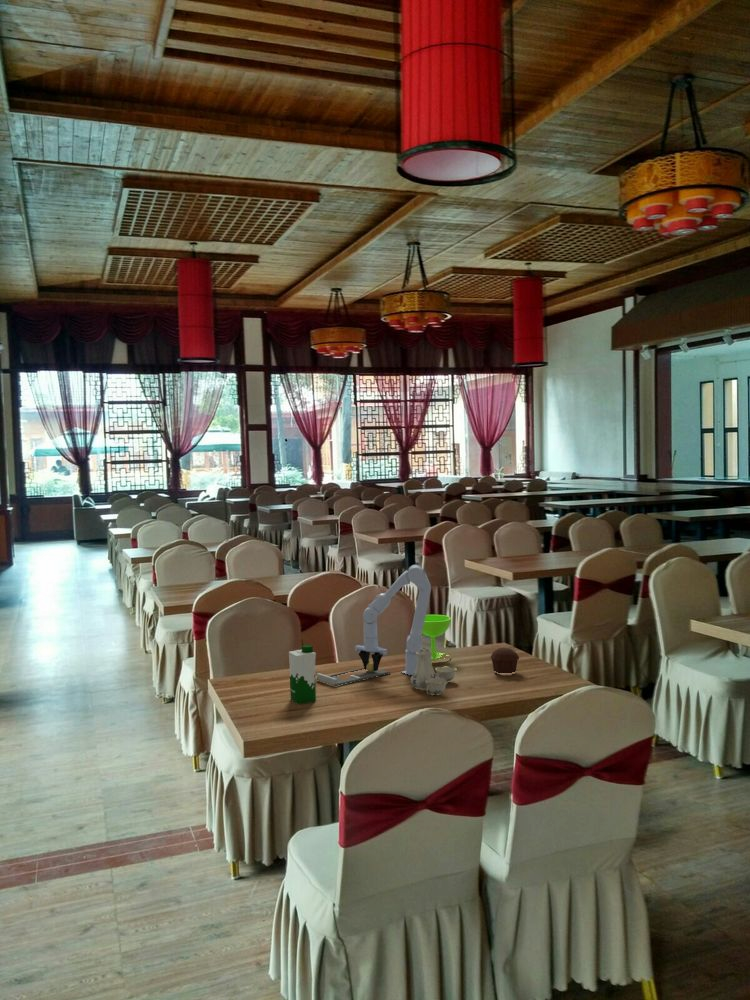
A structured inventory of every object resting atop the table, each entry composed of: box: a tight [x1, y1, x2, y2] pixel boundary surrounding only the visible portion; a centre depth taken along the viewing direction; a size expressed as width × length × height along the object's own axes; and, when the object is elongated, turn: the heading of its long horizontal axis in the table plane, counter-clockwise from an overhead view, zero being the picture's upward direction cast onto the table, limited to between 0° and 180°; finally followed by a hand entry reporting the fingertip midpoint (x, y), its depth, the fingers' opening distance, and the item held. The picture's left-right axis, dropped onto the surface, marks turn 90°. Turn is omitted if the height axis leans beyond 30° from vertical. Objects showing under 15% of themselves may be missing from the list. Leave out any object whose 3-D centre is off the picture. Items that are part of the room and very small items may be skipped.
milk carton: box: [288, 644, 317, 705], centre depth 297 cm, size 9×9×20 cm
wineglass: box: [422, 614, 452, 661], centre depth 355 cm, size 16×16×18 cm
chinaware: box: [410, 645, 457, 696], centre depth 310 cm, size 28×17×17 cm, turn 168°
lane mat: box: [316, 667, 391, 687], centre depth 327 cm, size 12×28×3 cm, turn 129°
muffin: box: [490, 647, 520, 673], centre depth 330 cm, size 12×11×10 cm
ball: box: [366, 661, 374, 672], centre depth 333 cm, size 4×4×4 cm
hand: (371, 669), depth 333 cm, fingers closed on ball, 4 cm apart
